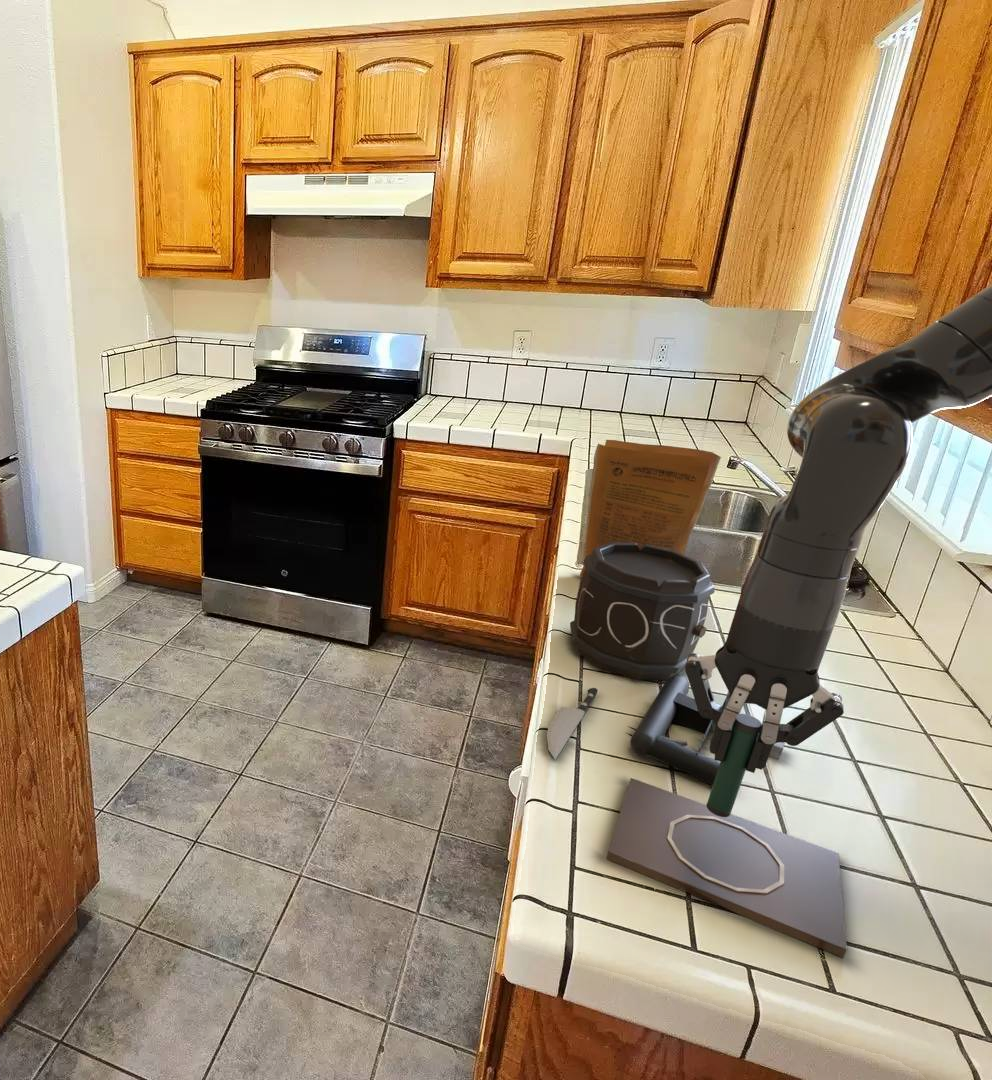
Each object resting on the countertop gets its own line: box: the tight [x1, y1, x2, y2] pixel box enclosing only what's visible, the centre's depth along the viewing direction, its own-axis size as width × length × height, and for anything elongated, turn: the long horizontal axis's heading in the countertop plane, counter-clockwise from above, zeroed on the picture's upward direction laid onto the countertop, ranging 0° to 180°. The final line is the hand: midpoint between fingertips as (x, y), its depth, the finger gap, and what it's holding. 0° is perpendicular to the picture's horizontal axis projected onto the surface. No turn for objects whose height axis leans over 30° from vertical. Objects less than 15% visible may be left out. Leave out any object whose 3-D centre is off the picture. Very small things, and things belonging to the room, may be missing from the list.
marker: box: [705, 713, 762, 817], centre depth 76 cm, size 2×2×11 cm
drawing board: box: [605, 777, 848, 958], centre depth 77 cm, size 20×14×1 cm
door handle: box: [626, 674, 786, 786], centre depth 96 cm, size 3×20×16 cm
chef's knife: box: [546, 687, 599, 760], centre depth 99 cm, size 19×1×3 cm
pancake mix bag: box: [579, 439, 722, 578], centre depth 134 cm, size 7×19×28 cm, turn 57°
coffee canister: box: [569, 542, 715, 681], centre depth 114 cm, size 18×18×16 cm
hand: (734, 761), depth 75 cm, fingers closed on marker, 2 cm apart
